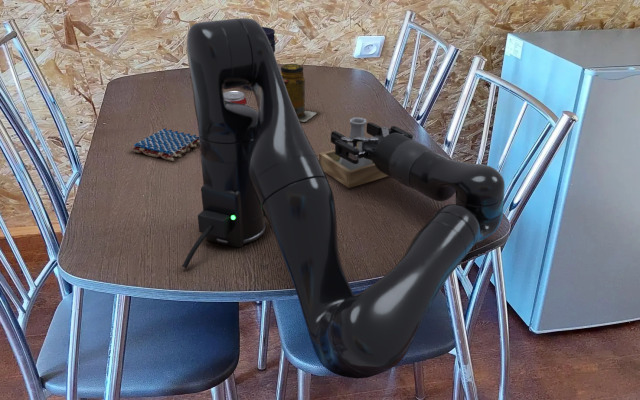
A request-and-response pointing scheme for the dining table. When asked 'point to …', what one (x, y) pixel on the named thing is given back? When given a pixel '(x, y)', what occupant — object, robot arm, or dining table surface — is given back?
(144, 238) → the dining table surface
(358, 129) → the flask
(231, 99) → the soda can
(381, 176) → the wooden compartment tray
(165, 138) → the woven mat
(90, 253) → the dining table surface
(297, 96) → the condiment
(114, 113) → the dining table surface
